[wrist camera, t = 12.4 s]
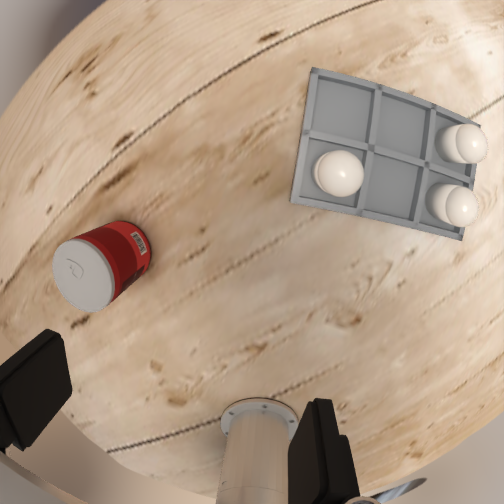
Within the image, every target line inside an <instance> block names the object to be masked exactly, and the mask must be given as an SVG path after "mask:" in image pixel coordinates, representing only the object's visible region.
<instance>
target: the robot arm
mask: <svg viewBox="0 0 504 504" xmlns="http://www.w3.org/2000/svg"><path fill="white" fill-rule="evenodd" d="M71 394H72V385H71V380H70V375H69V370H68V364H67V359H66V353H65V346H64V341H63V339H62V338H61V335H60V334H59V333H57V332H55V331H52V330H50V329H45V330H44V331H43V332H41V333H40V334H39V335H38V336H36V337H35V338H34V339H33V340H31V341H30V342H29V343H27V344H26V345H25V346H24V347H22V348H21V349H20V350H19V351H18V352H16V353H15V354H14V355H13V356H11V357H10V358H9V359H8V360H7V361H5V362H4V363H3V364H2V365H1V366H0V504H88V503H86V502H84V501H82V500H80V499H78V498H76V497H74V496H72V495H70V494H68V493H66V492H64V491H62V490H60V489H59V488H57V487H55V486H53V485H52V484H50V483H48V482H46V481H44V480H43V479H41V478H40V477H38V476H36V475H35V474H33V473H31V472H30V471H28V470H27V469H25V468H24V467H22V466H21V465H19V464H18V463H16V462H15V461H13V460H12V459H11V456H10V447H9V446H10V445H11V444H13V445H14V446H16V447H17V448H18V449H20V450H21V451H24V449H25V448H26V447H30V446H31V445H32V444H33V442H34V441H35V440H36V439H37V437H38V436H39V435H40V433H41V432H42V431H43V429H44V428H45V427H46V426H47V424H48V423H49V422H50V421H51V420H52V418H53V417H54V416H55V415H56V413H57V412H58V411H59V410H60V408H61V407H62V406H63V405H64V404H65V402H66V401H67V400H68V399H69V397H70V396H71ZM220 426H221V430H222V432H223V434H224V435H225V436H226V437H227V443H226V448H225V454H224V459H223V465H222V471H221V476H220V482H219V487H218V493H217V499H216V504H381V503H379V502H378V501H377V500H375V499H373V498H370V497H364V496H362V497H360V492H359V487H358V482H357V477H356V472H355V468H354V463H353V458H352V454H351V449H350V445H349V440H348V438H347V436H346V435H339V431H338V426H337V422H336V417H335V412H334V407H333V403H332V400H331V399H321V398H315V399H314V401H313V402H311V401H309V402H308V404H307V406H306V409H305V411H304V413H303V416H302V418H301V420H300V423H299V425H298V419H297V416H296V415H295V413H294V412H293V411H292V410H291V409H290V408H289V407H287V406H286V405H284V404H282V403H280V402H277V401H274V400H269V399H258V398H256V399H247V400H242V401H239V402H236V403H234V404H232V405H231V406H229V407H228V408H227V409H226V410H225V411H224V412H223V414H222V417H221V422H220ZM292 438H293V439H292ZM291 439H292V441H291V443H290V445H289V441H290V440H291Z"/></svg>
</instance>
